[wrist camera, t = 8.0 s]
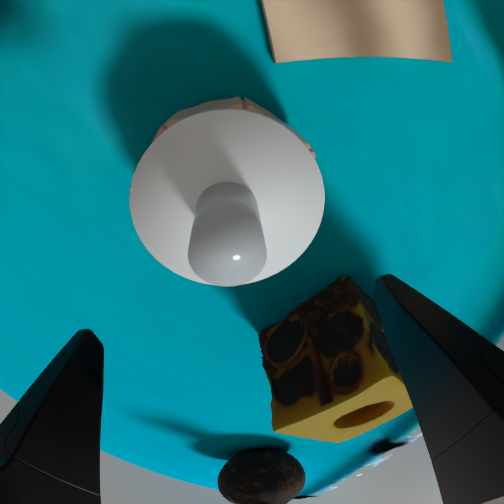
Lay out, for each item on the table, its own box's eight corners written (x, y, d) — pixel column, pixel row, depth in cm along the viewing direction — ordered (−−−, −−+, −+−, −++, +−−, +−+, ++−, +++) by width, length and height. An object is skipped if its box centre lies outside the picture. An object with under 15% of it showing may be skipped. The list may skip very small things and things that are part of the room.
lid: (305, 90, 11) (342, 104, 8) (325, 255, 17) (349, 313, 13) (109, 140, 12) (65, 177, 8) (171, 286, 17) (161, 348, 13)
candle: (255, 332, 27) (266, 432, 19) (345, 268, 23) (391, 372, 15) (317, 366, 32) (336, 445, 24) (393, 319, 28) (429, 399, 20)
